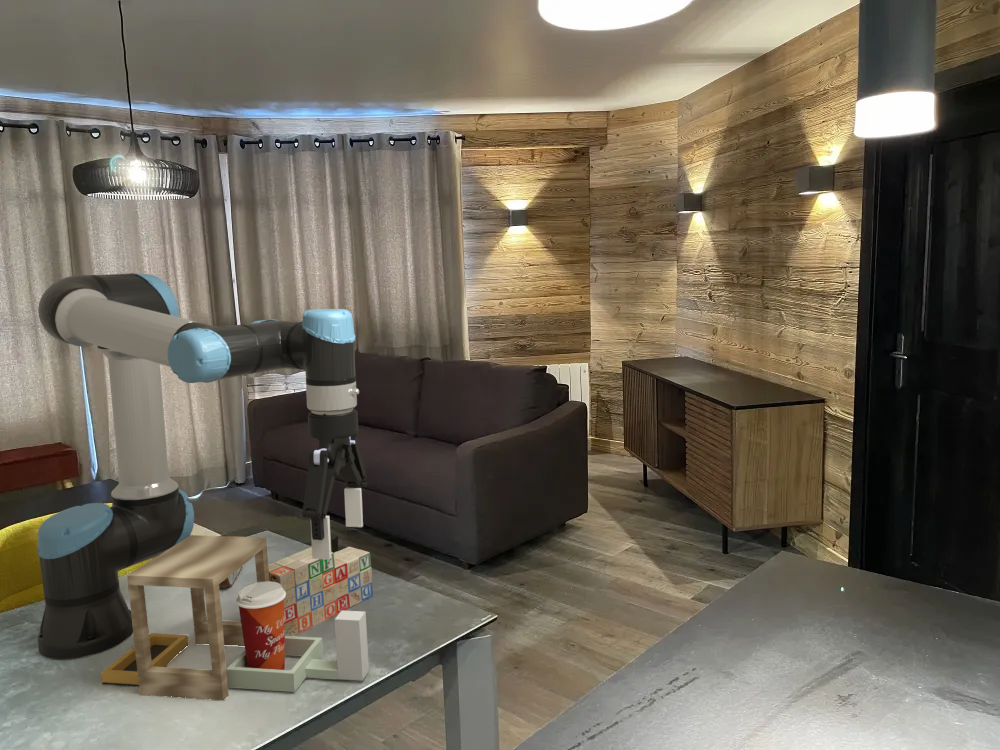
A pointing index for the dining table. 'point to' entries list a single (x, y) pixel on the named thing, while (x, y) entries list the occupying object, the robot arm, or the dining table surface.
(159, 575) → the oak tunnel
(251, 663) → the paper cup
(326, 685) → the dining table surface
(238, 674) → the collar
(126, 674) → the pit trap
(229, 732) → the dining table surface
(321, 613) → the stack of blocks
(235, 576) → the tin
